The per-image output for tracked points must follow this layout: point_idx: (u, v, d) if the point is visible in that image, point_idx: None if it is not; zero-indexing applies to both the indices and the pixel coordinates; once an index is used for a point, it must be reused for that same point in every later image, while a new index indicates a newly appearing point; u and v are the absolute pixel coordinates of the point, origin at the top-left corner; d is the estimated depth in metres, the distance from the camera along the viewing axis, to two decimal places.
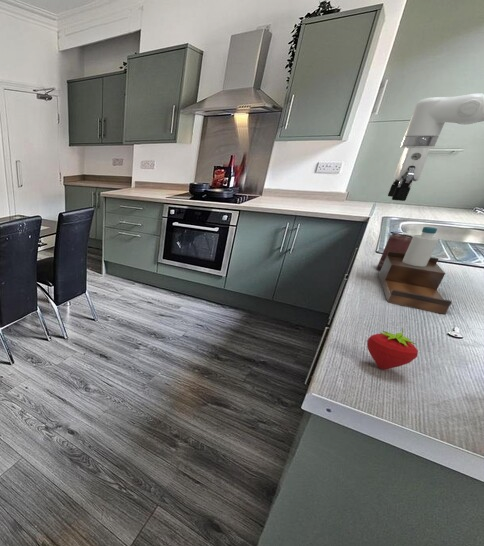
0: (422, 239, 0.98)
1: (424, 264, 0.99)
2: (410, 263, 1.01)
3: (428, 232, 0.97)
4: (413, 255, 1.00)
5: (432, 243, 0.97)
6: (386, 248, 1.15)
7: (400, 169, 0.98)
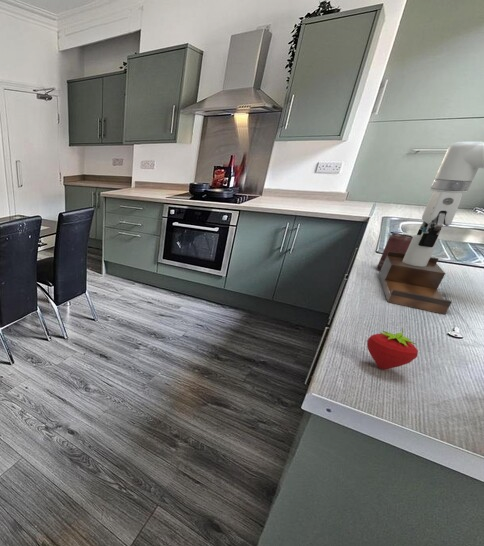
0: None
1: (424, 264, 0.99)
2: (410, 263, 1.01)
3: None
4: (413, 255, 1.00)
5: None
6: (386, 248, 1.15)
7: (430, 213, 0.94)
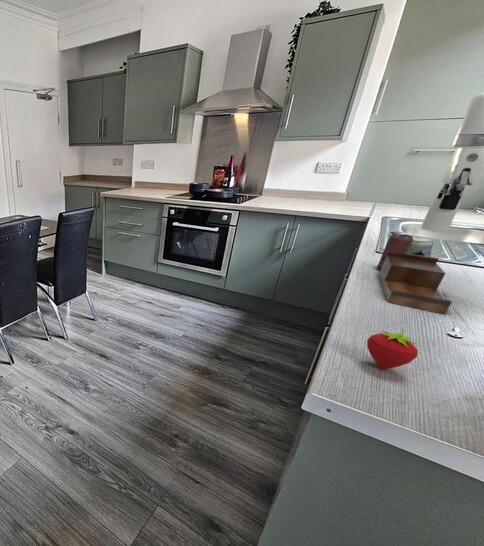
0: None
1: (445, 229, 0.93)
2: (430, 229, 0.94)
3: None
4: (433, 220, 0.93)
5: None
6: (386, 248, 1.15)
7: (452, 172, 0.87)
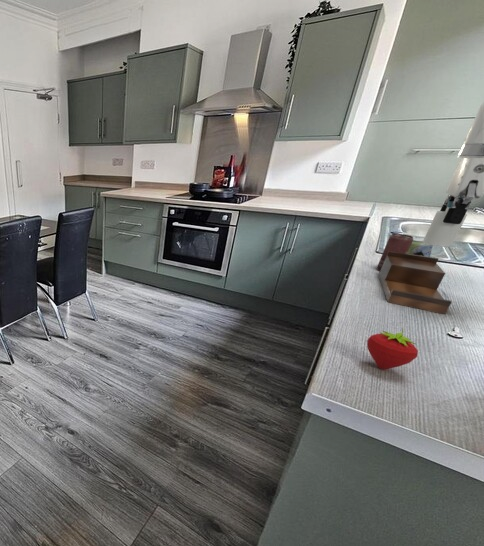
0: None
1: (449, 244, 0.86)
2: (433, 243, 0.88)
3: None
4: (436, 234, 0.87)
5: None
6: (386, 248, 1.15)
7: (458, 184, 0.81)
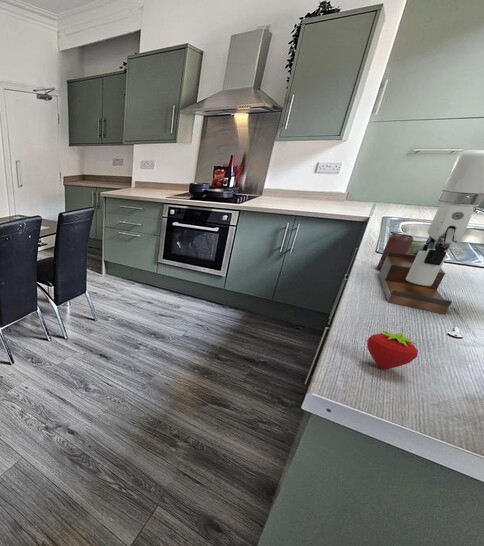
0: None
1: (430, 283, 0.91)
2: (415, 282, 0.92)
3: None
4: (418, 273, 0.91)
5: None
6: (386, 248, 1.15)
7: (438, 228, 0.85)
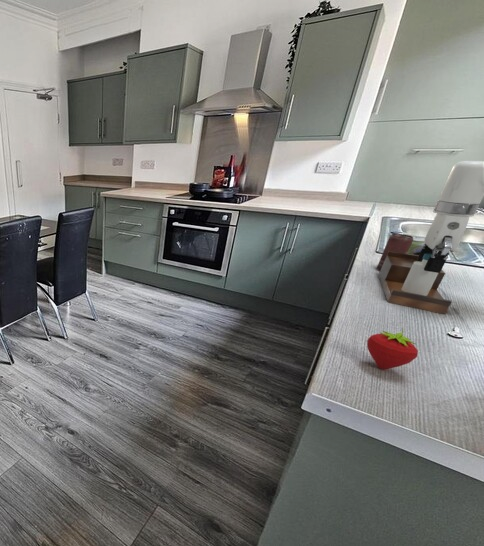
0: (423, 267, 0.90)
1: (425, 294, 0.92)
2: (410, 292, 0.94)
3: None
4: (413, 283, 0.93)
5: None
6: (386, 248, 1.15)
7: (434, 237, 0.86)
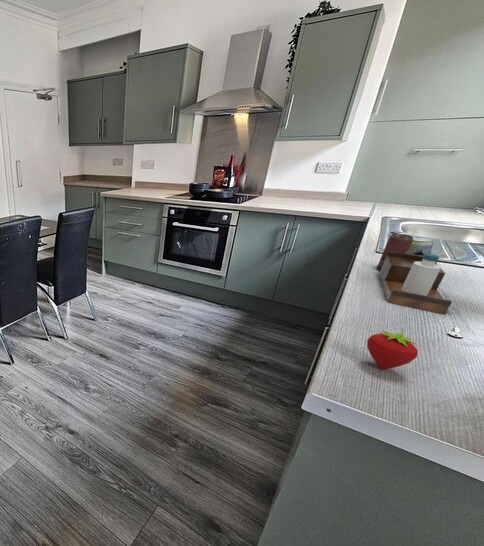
0: (423, 267, 0.90)
1: (425, 294, 0.92)
2: (410, 292, 0.94)
3: (429, 260, 0.90)
4: (413, 283, 0.93)
5: (433, 271, 0.89)
6: (386, 248, 1.15)
7: None
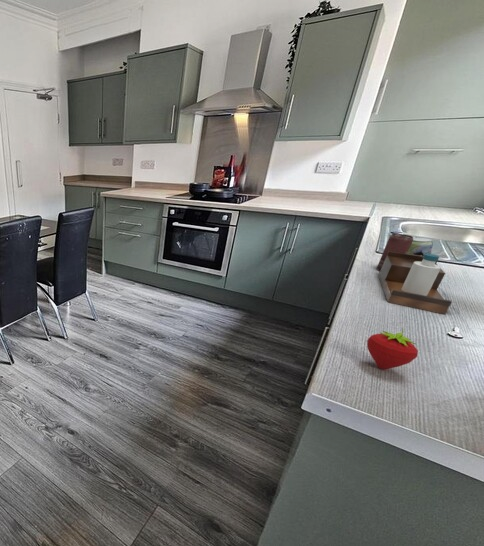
0: (423, 267, 0.90)
1: (425, 294, 0.92)
2: (410, 292, 0.94)
3: (429, 260, 0.90)
4: (413, 283, 0.93)
5: (433, 271, 0.89)
6: (386, 248, 1.15)
7: None
